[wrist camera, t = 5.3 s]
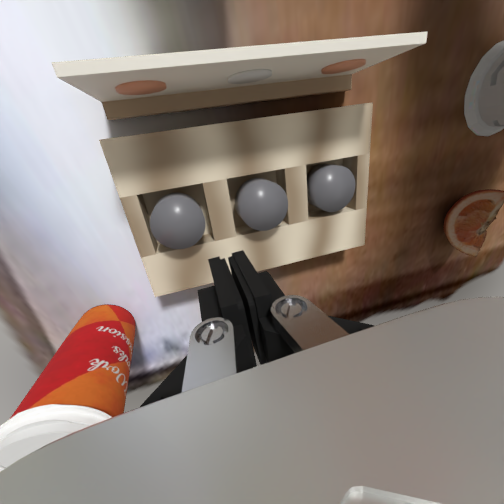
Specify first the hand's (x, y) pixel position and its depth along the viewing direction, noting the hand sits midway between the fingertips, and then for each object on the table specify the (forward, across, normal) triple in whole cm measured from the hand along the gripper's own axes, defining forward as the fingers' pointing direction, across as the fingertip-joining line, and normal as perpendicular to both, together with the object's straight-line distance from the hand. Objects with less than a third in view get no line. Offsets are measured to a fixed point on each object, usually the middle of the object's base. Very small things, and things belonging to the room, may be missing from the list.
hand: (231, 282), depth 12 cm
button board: (+16, -5, 0) cm, 17 cm away
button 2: (+14, -13, 0) cm, 19 cm away
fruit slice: (+16, -33, +8) cm, 38 cm away
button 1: (+13, +2, 0) cm, 13 cm away
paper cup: (+16, +13, +10) cm, 23 cm away
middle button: (+13, -5, 0) cm, 14 cm away
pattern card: (+16, -5, -10) cm, 19 cm away
